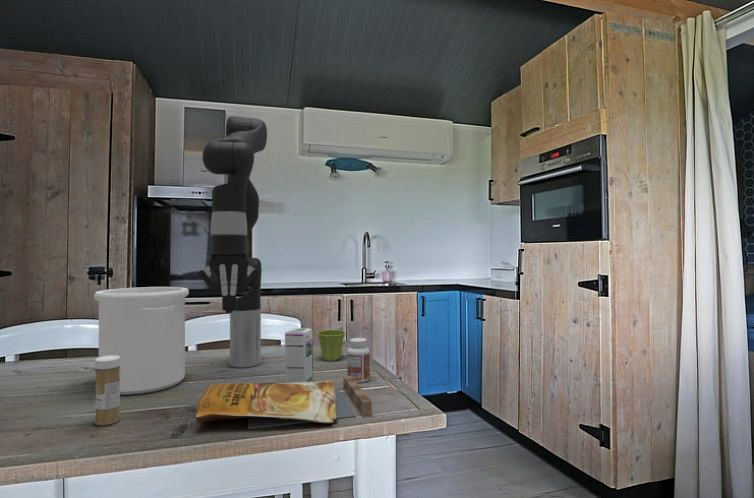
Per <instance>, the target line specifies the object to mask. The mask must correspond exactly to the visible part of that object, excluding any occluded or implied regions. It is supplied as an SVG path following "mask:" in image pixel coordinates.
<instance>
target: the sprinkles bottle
mask: <svg viewBox="0 0 754 498" xmlns="http://www.w3.org/2000/svg"><path fill="white" fill-rule="evenodd" d="M120 364H121V360H120V356H116V355H110V356H103V357H99V356H98V357H96V358H95V359H94V368H95V399H94V407H95V419H94V424H95V425H96V426H102V427H103V426H109V425H112V424H116V423H117V422H119V421H120V420H121V417H120V404H121V403H120V400H121V399H120V398H121V395H120V369H119V368H120Z"/></svg>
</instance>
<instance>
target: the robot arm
mask: <svg viewBox="0 0 754 498" xmlns="http://www.w3.org/2000/svg"><path fill="white" fill-rule="evenodd" d="M267 140H268V127H267V125H266V122H264V120H262V119H259V118H254V117H246V116H237V115H235V116H233V115H231V116H229V117H228V118H227V119H226V123H225V137H224V138H219V139H214V140H210V141H209V142H208V143H207V144H206V145H205V147H204V148H203V152H202V157H201V159H202V163H203V166H204V167H205V168H206V170H207V171H208V172H209V173H210V174H213V175H227V178H226V179H227V181H226V182H227V183H223V184H218V185H216V186H214V187H213V188H212V191H211V218H210V219H211V220H210V228H209V229H210V230H209V231H210V258H209V260H208V263H207V264H208V265H207V266H205V267H204V268H203V269H200V270H199V271H198V272H197V274H198V276H199V277H200V278H201V279H202V281H204V283H205V284H206V285H207V286H208V287H209V289H210V290H211V291H212V292H213V293H214V294H218V295H221V298H222V299H221V301H222V302H221V303H222V306H221V308H222V311H224V312H225V314H229V366H230V367H232V368H250V367H251V368H252V367H255V366H258V365H261V363H262V359H261V357H262V356H261V355H262V354H261V351H262V349H261V348H262V347H261V346H262V344H261V341H262V340H261V339H262V338H261V337H262V335H261V333H262V327H261V326H262V323H261V321H262V318H261V317H262V313H261V312H262V311H261V307H262V305H261V300H262V299H261V297H262V295H261V291H262V289H261V287H262V270H263V269H262V262H261V259H259V258H258V257H248V235H249V233H250V232H251V231H252V230H253V228H255V227H254V226H255V225H256V223H257V222H258V219H259V214H260V213H259V208H260V207H259V206H260V196H259V194H258V190H257V189H256V187H255V186H254V184H253V182H252V181H251V180H250V177H251V175H252V174H251V173H252V171H253V167H254V165H255V164H254V163H255V154H256V153H260V152H262V151H264V149H265V148H266V146H267V142H268V141H267ZM212 272H213V275H215V277H216V278H217V279H218V280H220V287H219V286H218V284H217V283H216V282H215V281H214V280H213V279H212V277H211V276H212ZM229 288H230V289H229ZM247 288H249V291H247V292H246V293H245V294H243V295H241V296H239V297H237V295H239V294H241V293H244V292H245V291H246V290H247ZM229 290H230V292H229Z"/></svg>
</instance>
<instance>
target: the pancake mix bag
mask: <svg viewBox="0 0 754 498" xmlns="http://www.w3.org/2000/svg"><path fill="white" fill-rule="evenodd" d="M335 388H336V386H335V384H334V381H333V380H332V379H330V378H329V379H327V380H326V379H324V380H318V381H314V380H313V381H312V382H291V383H286V382H255V383H254V382H252V383H251V382H248V383H247V382H246V383H245V382H244V383H243V382H241V383H237V382H236V383H235V382H234V383H226V382H225V383H221V382H220V383H214V384H209V385H208V387H207V388H206V389H205V390H204V392H203V394H202V396H201V397H199V400H197V401H198V402H197V404H196V414H195V420H196V421H197V424H198V423H199V424H201V423H209V422H215V421H216V422H217V421H221V420H223V421H224V420H234V419H243V418H244V419H245V418H248V417H255V416H262V417H278V418H285V419H300V420H308V421H314V422H313V423H322V424H333V423H334V422H335V421H336V420H338V419H337V410H336V394H335Z"/></svg>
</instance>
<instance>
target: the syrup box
mask: <svg viewBox="0 0 754 498" xmlns="http://www.w3.org/2000/svg"><path fill="white" fill-rule="evenodd" d="M313 340H314V339H313V328H310V327H293V328H292V329H289V330H287V331H285V332H284V353H285V354H284V359H285V361H284V362H285V367H284V368H285V383H291V382H313V381H314V352H313V351H314V350H313V349H314V348H313Z"/></svg>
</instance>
